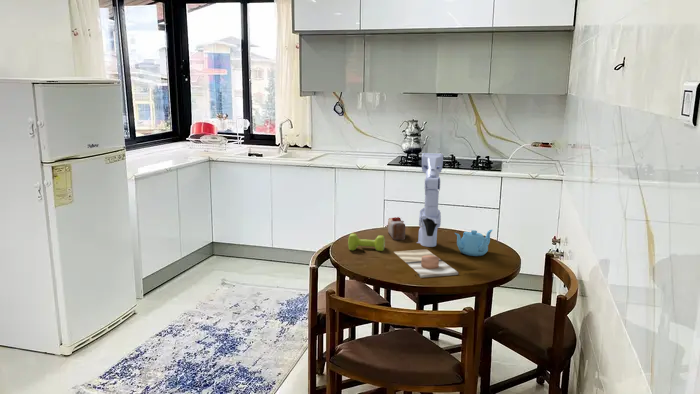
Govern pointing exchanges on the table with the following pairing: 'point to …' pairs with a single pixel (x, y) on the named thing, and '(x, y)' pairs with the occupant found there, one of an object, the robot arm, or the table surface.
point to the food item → (396, 228)
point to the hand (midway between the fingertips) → (429, 235)
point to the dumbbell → (366, 242)
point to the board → (414, 262)
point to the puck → (430, 262)
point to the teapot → (473, 243)
